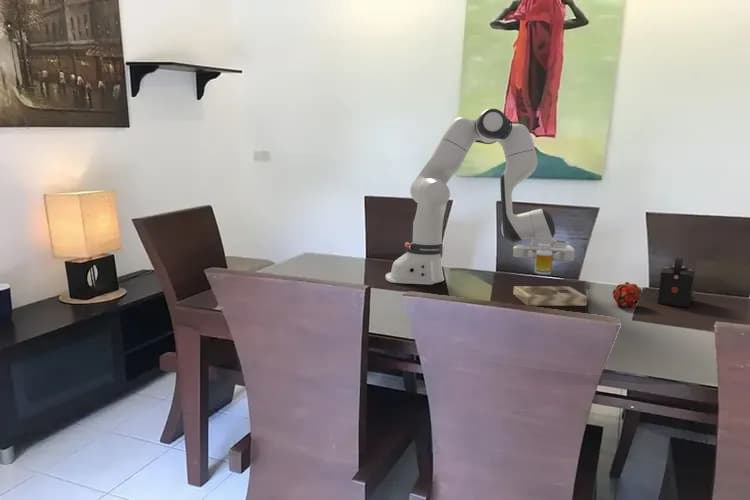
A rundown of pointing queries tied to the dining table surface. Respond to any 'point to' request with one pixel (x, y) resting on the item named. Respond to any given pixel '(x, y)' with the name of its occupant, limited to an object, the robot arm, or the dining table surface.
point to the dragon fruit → (627, 295)
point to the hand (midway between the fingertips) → (544, 256)
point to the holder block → (550, 295)
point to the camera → (676, 285)
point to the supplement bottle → (543, 259)
